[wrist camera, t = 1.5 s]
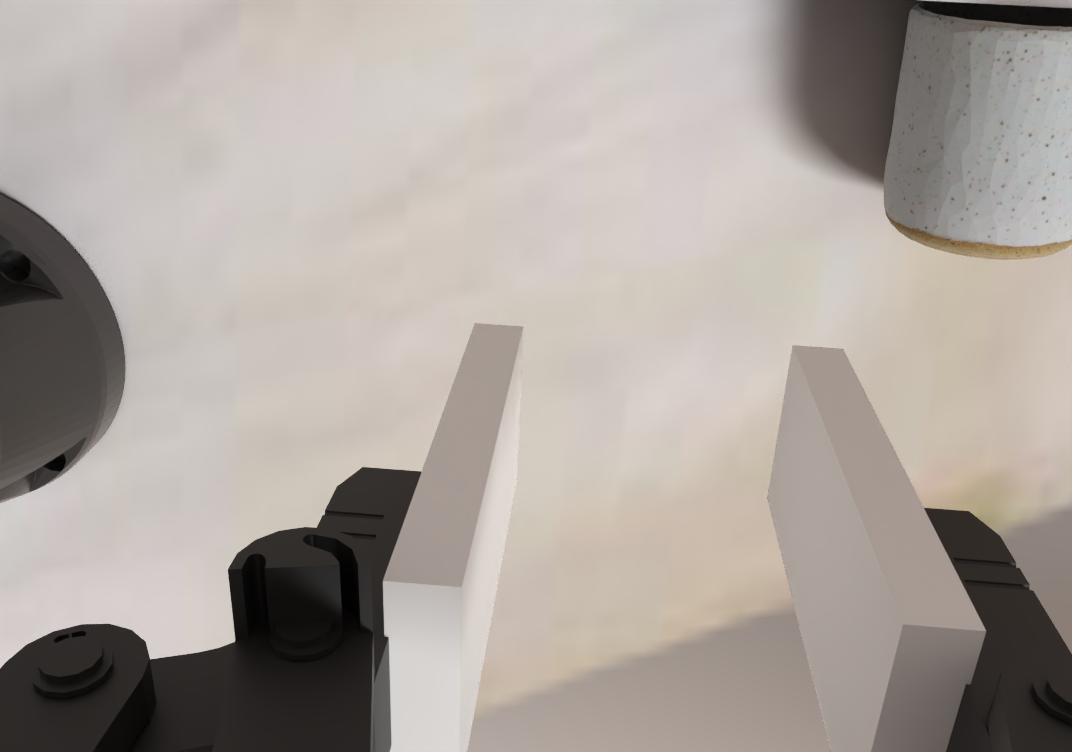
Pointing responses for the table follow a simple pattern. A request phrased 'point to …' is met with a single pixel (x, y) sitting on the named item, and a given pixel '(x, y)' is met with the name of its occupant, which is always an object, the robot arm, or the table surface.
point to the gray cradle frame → (1018, 2)
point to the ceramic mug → (983, 130)
